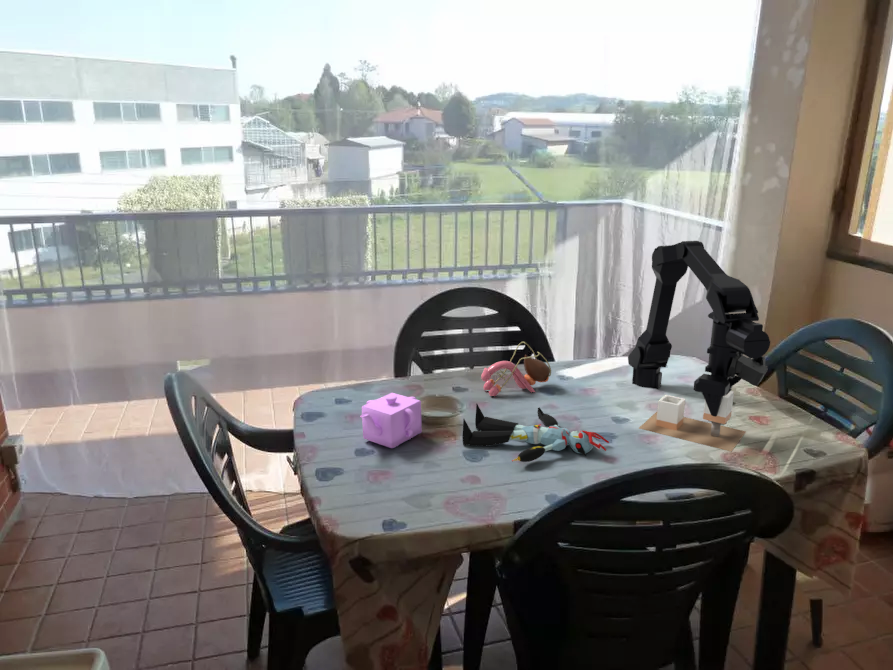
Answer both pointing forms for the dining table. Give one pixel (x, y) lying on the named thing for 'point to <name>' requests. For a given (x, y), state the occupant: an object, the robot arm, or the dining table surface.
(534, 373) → the anatomy model
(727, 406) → the sleeve loose
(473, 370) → the dining table surface
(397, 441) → the teapot
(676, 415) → the sleeve seated
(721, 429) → the pin board
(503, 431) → the toy
